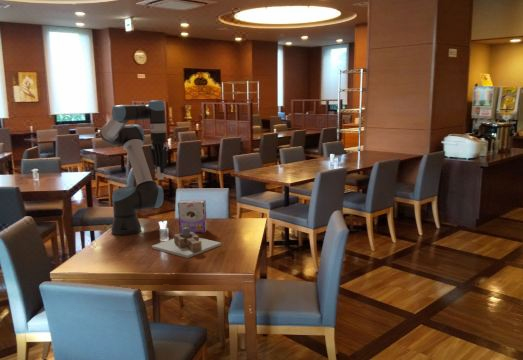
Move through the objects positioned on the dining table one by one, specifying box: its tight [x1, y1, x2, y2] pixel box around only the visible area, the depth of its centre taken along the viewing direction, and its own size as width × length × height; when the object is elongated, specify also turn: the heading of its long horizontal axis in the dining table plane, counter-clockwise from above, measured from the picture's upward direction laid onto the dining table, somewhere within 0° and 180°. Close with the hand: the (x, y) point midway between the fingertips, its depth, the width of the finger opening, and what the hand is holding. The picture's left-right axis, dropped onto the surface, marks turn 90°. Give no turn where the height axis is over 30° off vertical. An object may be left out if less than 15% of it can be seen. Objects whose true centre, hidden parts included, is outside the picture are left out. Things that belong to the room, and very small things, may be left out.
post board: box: [151, 227, 222, 259], centre depth 218 cm, size 24×22×9 cm
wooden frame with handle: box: [173, 232, 200, 252], centre depth 215 cm, size 18×9×4 cm, turn 28°
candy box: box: [177, 199, 208, 234], centre depth 243 cm, size 14×6×16 cm, turn 84°
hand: (160, 179), depth 233 cm, fingers closed
